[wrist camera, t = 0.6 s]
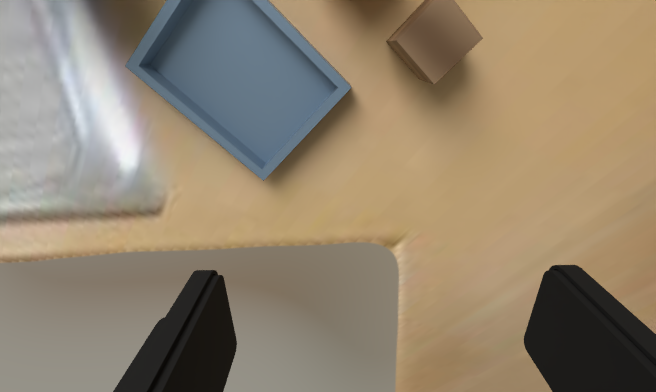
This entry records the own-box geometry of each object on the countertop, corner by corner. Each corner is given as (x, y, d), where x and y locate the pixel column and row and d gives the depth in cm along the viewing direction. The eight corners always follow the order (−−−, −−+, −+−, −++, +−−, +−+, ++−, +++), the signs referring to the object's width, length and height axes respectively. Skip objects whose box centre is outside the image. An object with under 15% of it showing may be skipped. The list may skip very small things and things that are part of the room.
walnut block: (426, -2, 27) (445, -12, 22) (459, 39, 28) (483, 37, 24) (386, 41, 28) (396, 40, 24) (419, 78, 30) (434, 84, 25)
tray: (217, -53, 26) (206, -63, 23) (349, 84, 30) (351, 87, 28) (141, 64, 29) (125, 66, 27) (268, 171, 34) (263, 180, 31)
